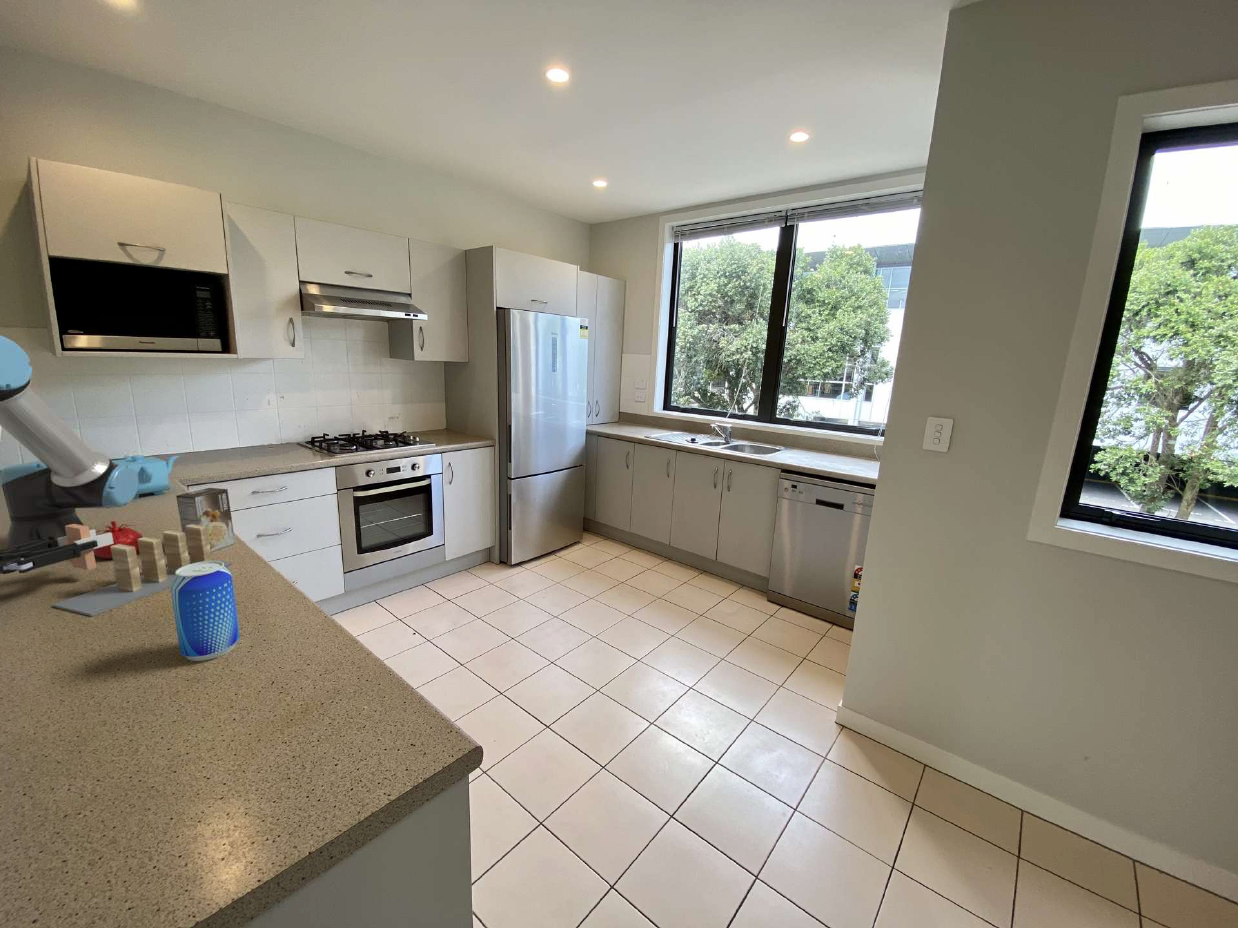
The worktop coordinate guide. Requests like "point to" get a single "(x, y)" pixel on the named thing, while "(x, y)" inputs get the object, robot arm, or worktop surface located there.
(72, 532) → the tile
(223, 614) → the beer can
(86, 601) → the slate board
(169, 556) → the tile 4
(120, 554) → the tile
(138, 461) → the teakettle
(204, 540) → the wooden block
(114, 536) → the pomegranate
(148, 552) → the tile
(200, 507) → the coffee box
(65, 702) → the worktop surface
